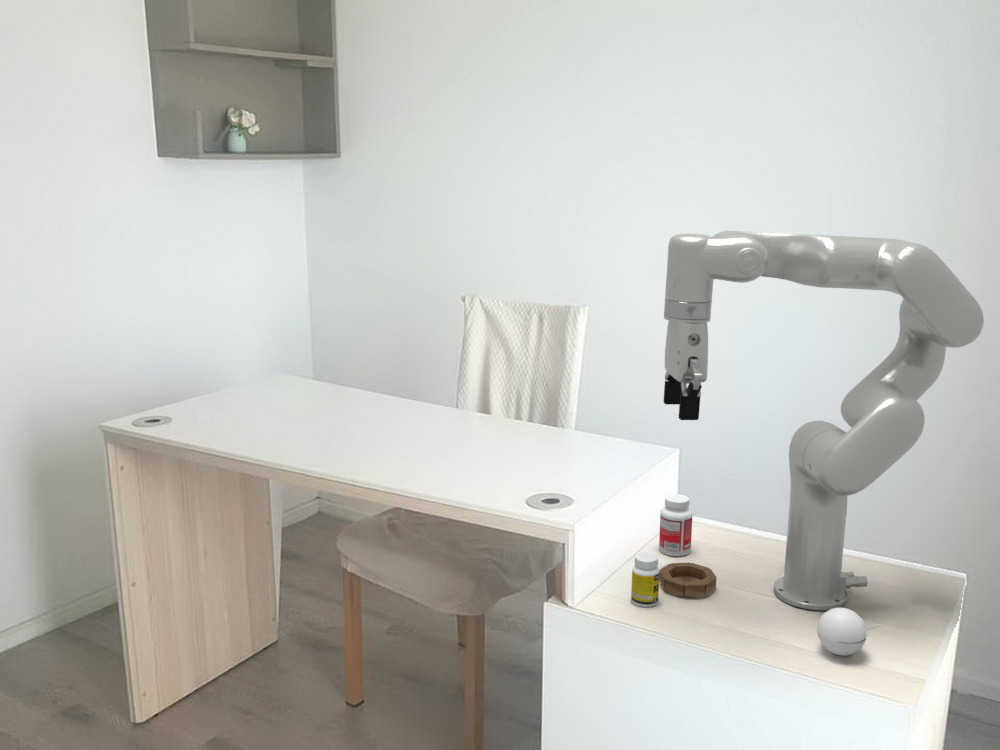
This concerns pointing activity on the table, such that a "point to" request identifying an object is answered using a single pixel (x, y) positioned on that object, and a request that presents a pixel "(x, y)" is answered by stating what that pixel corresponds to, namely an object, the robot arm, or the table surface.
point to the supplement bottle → (645, 580)
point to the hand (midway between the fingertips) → (680, 411)
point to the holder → (687, 580)
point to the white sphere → (842, 631)
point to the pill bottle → (675, 526)
